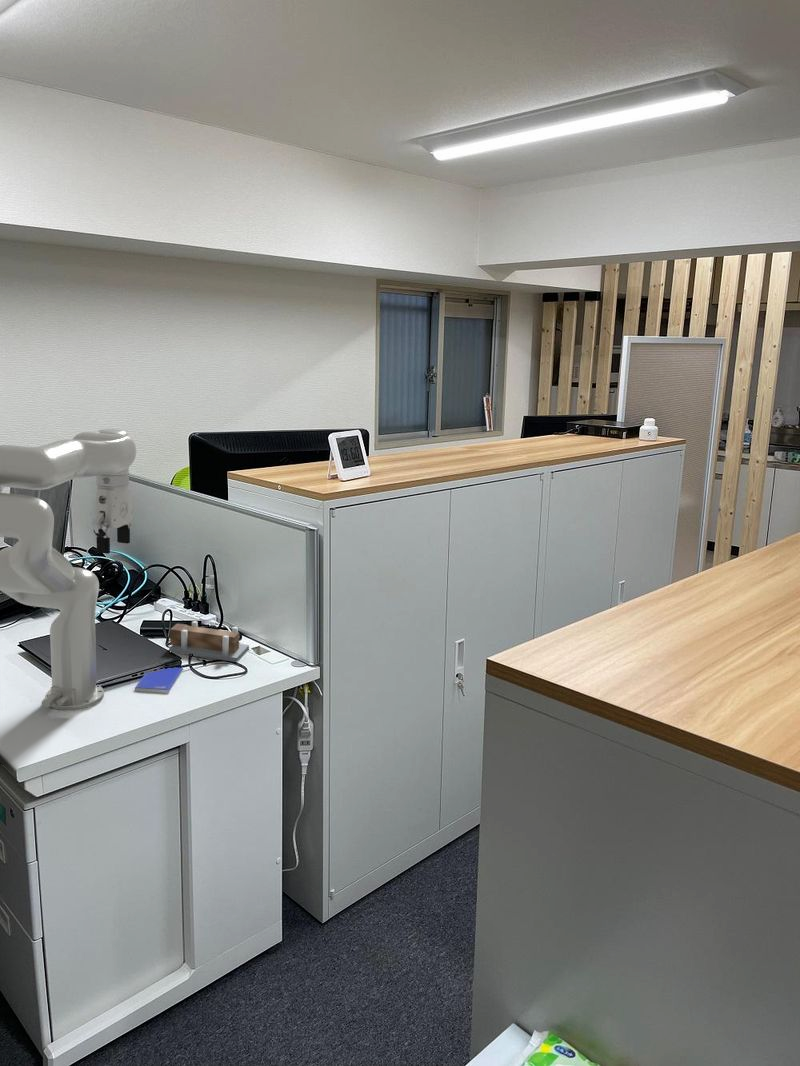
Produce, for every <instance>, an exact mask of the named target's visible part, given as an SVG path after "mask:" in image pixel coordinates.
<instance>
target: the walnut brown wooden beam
mask: <svg viewBox="0 0 800 1066" xmlns="http://www.w3.org/2000/svg"><path fill="white" fill-rule="evenodd" d="M169 630H170V631H169V645H170V646H172V645H176V646H181V631H182V630H187V646H188V647H195V648H202V649H209V650H216V651H222V643H223V636H229V651H228V652H230V653H235V652H236V651H237V650H238V649H239V644H240V632H238V633H237V632H232V631H229V630H221V629H215V628H207V627H201V626H200V627H199V626H198V627H194V626H192V625H188V624H186V623H185V624H183V623H176V624H174V626H172V627H170V629H169Z"/></svg>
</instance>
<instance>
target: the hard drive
mask: <svg viewBox="0 0 800 1066" xmlns="http://www.w3.org/2000/svg"><path fill="white" fill-rule="evenodd" d="M173 667H174V666H173ZM183 671H184V669H183V667H174V668H167V669H163V670H159V671H155V672H151V673H146V672H145V673H146V674H143V676H142V677H141V678H140V680H139V681H138V683H137V684H136V685H135V687H134V691H135V692H136V691H137V692H146V693H147V692H148V693H161V694H169V693H170V692H171V690H172V689H173V687H174V686H175V684H176V683H177V681H178V679H179V678H180V676H181V675H182V673H183Z"/></svg>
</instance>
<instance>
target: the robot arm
mask: <svg viewBox="0 0 800 1066" xmlns="http://www.w3.org/2000/svg"><path fill="white" fill-rule="evenodd" d="M136 455H137V447H136V444H135V441H134V440H133V439H132V438H131V437H129V434H128V432H126V431H125V430H122V429H117V428H103V429H100V430H97V431H84V432H79V433H78V434H76V435H75V436H73V438H72V439H61V440H60V439H59V440H58V441H57V440H56V441H54V442H50V443H47V444H43V445H39V446H19V445H11V444H10V445H9V444H1V445H0V537H1V538H8V539H16V540H18V541H17V542H16V543H14V545H13V546H8V547H4V548H3V549H1V550H0V591H1V592H2V593H3V594H5V595H7V596H8V597H10V598H11V599H14V600H15V601H16V602H18V603H20V604H21V605H22V604H23V605H25V606H30V607H38V608H47V609H55V610H59V611H60V612H59V614H58V616H57V617H55V618H54V620H53V621H52V623H51V624H50V628H49V639H50V640H49V641H50V664H51V665H50V666H51V668H50V669H51V687H50V690H48V691H47V692H46V693H45V695H44V699H43V700H42V701H41V705H42V706H43V708H47V709H48V708H49V707H50V708H52V709H56V710H60V711H61V710H62V711H75V710H77V711H78V710H83V709H86V708H90V707H93V706H94V705H97V704H98V703H99V702H101V701H102V700H103V699H104V696H105V693H104V692H105V691H104V688H103V687H102V686H101V685H99V687H97V685H98V684H97V653H96V652H97V651H96V650H97V648H96V647H97V646H96V644H97V643H96V609H97V602H98V596H99V589H100V582H99V578H98V577H97V575H96V574H95V573H94V572H92V571H91V570H88V569H85V568H82V567H76V566H73V565H72V563H71V562H70V560H68V559H67V557H66V556H65V555H64V554H62V553H61V552H59V551H58V550H57V549H56V548H54V547H53V538H54V530H55V515H54V512H53V510H52V508H51V506H50V504H48V503H47V502H46V501H44V500H43V499H41V498H38V497H36V496H32V495H26V494H18V493H17V494H16V493H6V492H3V490H4V488H15V489H16V488H17V489H23V490H24V489H25V490H33V491H35V490H36V491H40V490H43V491H44V490H48V489H52V488H54V487H56V486H59V485H61V484H64V483H66V482H69V481H71V480H74V479H82V478H91V477H95V484H96V485H95V486H96V496H95V519H93V521H92V523H91V526H92V529H93V533H94V537H95V538H96V540H95V541H96V552H97V553H99V554H107V555H108V554H110V552H111V538H110V536H109V535H110V531H112V530H116V538H117V539H116V541H117V542H118V543H119V544H120V543H121V544H125V545H126V544H127V545H128V544H130V543H131V527H132V524H131V522H132V521H133V510H134V509H133V502H132V493H131V487H130V471H129V470H130V469H129V467H131V465H132V464H133V463H134V461H135V459H136ZM104 530H105V531H104ZM96 684H97V685H96Z"/></svg>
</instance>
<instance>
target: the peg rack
mask: <svg viewBox="0 0 800 1066" xmlns="http://www.w3.org/2000/svg"><path fill="white" fill-rule="evenodd" d="M198 623H199V622H198V621H196V620H194V621H191V626H194V627H199V624H198ZM231 632H237V633H239V627H238V626H232V627H231ZM249 650H250V645H249V644H243V643H239V649H238V650H237V651H236V652H235V653H230V652H228V651H229V636H223V643H222V651H216V650H209V649H202V648H195V647H188V646H187V630H182V631H181V646H176V645H170V646H169V649H168V651H171V652H173V653H174V654H180V655H185V656H190V655H189V654H190V653H191V654H193V657H201V658H207V659H214V660H221V661H228V662H233V663H238V661H240V659H241V658H242V657H243V656H244V655H245V654H246V653H247V652H249ZM171 652H170V653H171ZM173 653H172V654H173Z"/></svg>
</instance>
